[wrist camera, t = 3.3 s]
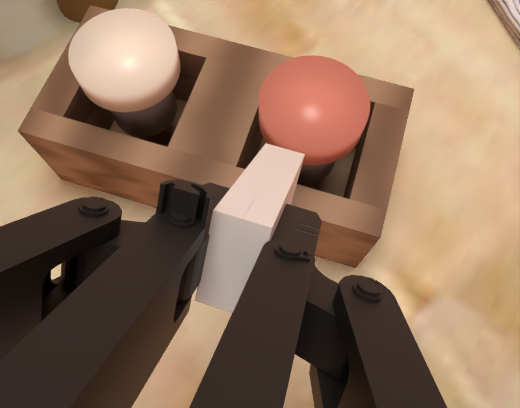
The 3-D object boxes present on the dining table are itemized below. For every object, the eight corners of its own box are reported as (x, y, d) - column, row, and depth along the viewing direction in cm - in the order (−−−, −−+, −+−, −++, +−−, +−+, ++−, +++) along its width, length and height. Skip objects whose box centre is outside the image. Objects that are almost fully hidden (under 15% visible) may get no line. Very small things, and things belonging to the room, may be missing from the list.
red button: (246, 180, 35) (243, 132, 29) (273, 104, 38) (276, 44, 31) (337, 206, 34) (356, 164, 28) (358, 127, 37) (380, 71, 30)
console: (61, 178, 41) (17, 131, 33) (117, 69, 45) (90, 5, 37) (355, 267, 38) (380, 237, 30) (386, 142, 42) (414, 89, 35)
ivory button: (85, 134, 37) (49, 78, 30) (122, 63, 39) (95, -2, 32) (170, 158, 36) (151, 107, 29) (202, 85, 38) (191, 22, 32)
